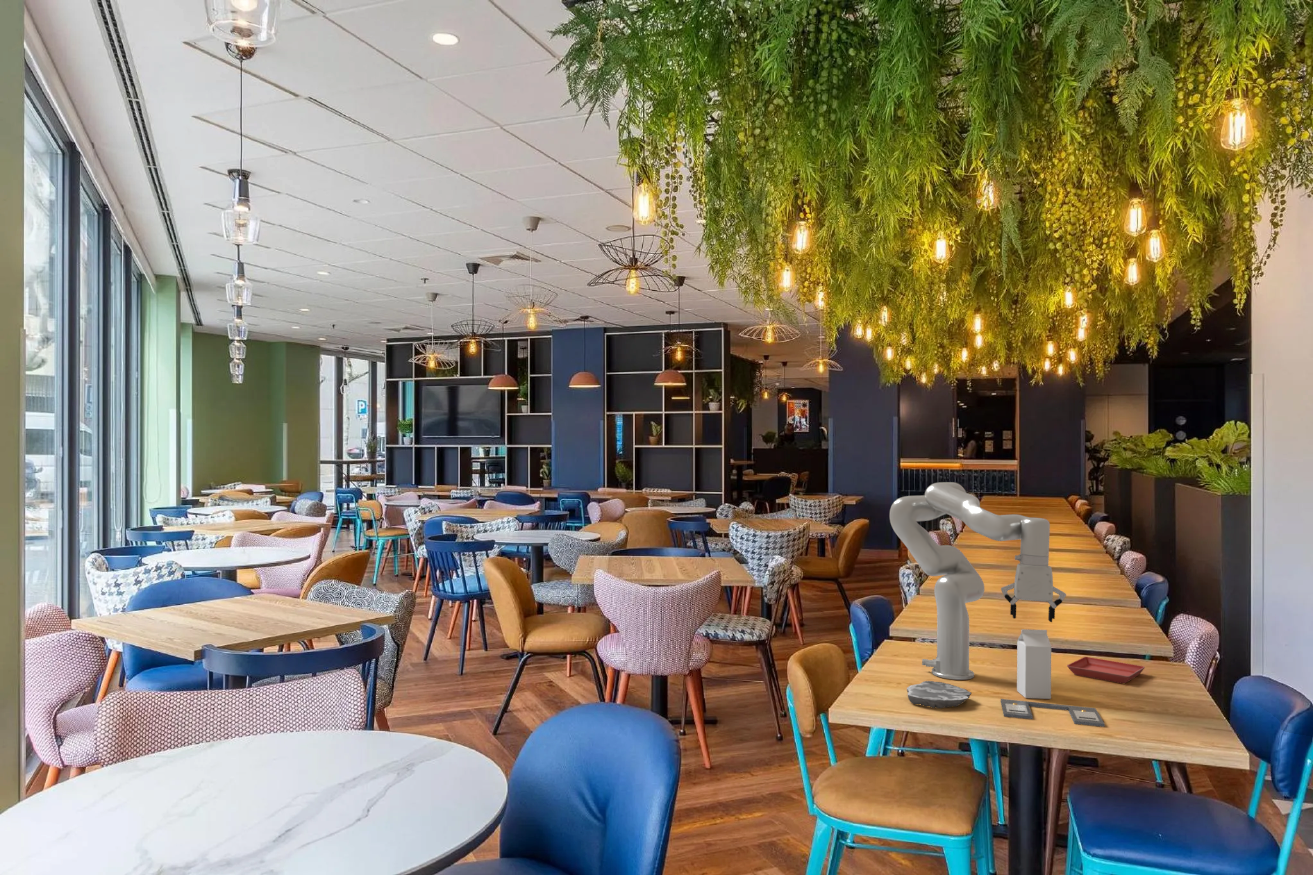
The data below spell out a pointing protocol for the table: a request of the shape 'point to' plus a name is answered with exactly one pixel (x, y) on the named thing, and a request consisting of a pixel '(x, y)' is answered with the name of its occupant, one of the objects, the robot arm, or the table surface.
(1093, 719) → the label panel
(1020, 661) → the milk carton
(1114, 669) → the plant saucer
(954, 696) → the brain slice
